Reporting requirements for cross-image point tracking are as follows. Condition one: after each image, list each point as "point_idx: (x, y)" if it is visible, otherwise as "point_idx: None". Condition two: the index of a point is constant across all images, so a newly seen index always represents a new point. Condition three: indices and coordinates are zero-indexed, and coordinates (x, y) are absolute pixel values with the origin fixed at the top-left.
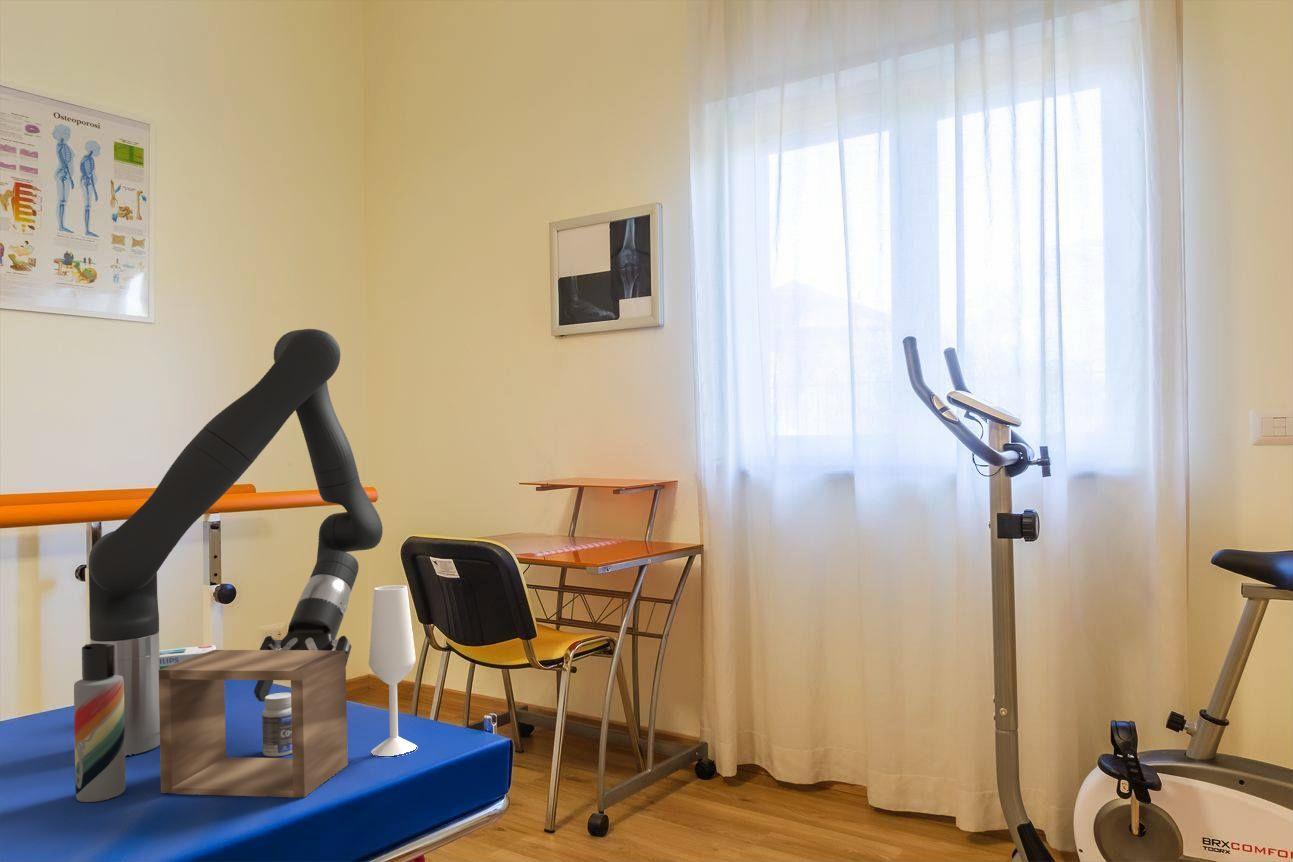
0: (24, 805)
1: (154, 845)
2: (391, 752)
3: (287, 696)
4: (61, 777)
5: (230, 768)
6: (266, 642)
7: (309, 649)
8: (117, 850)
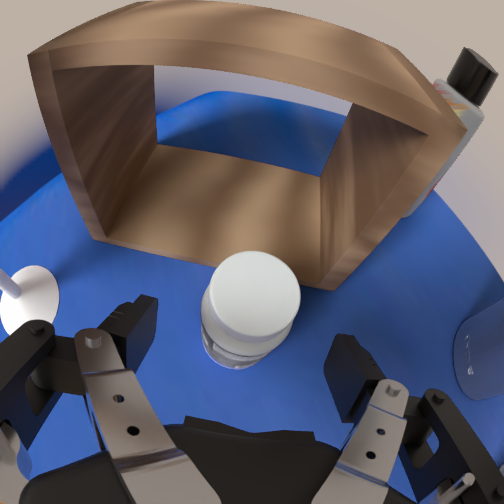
0: (431, 194)
1: (257, 99)
2: (30, 269)
3: (220, 271)
4: (465, 260)
5: (279, 226)
6: (491, 479)
7: (165, 442)
8: (281, 100)
